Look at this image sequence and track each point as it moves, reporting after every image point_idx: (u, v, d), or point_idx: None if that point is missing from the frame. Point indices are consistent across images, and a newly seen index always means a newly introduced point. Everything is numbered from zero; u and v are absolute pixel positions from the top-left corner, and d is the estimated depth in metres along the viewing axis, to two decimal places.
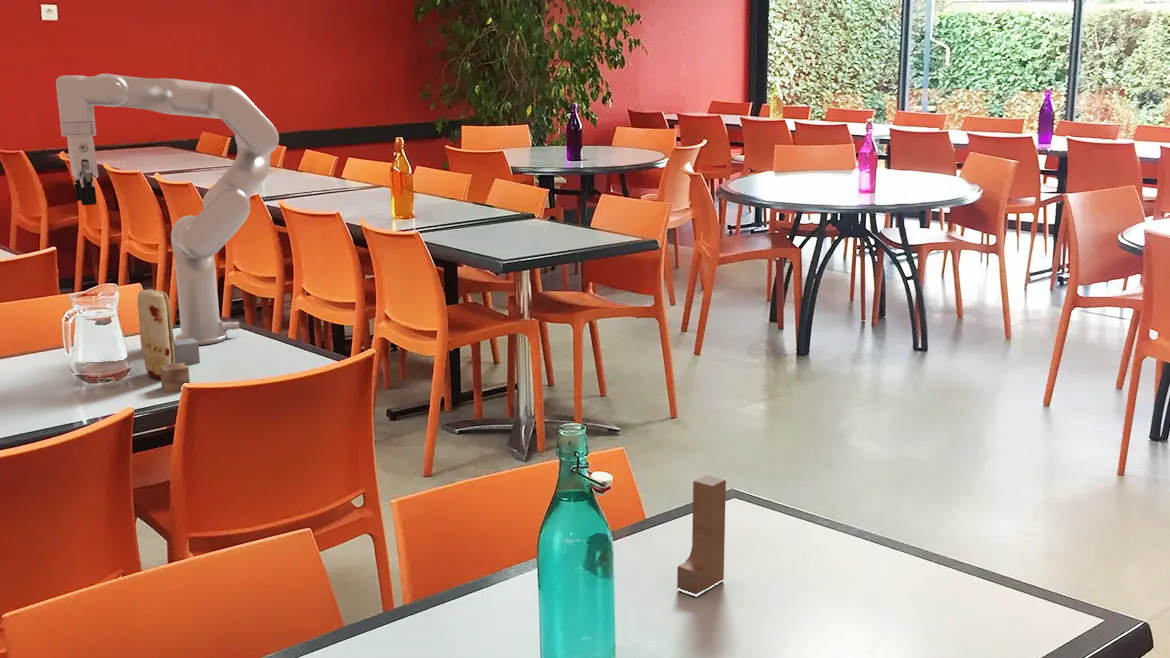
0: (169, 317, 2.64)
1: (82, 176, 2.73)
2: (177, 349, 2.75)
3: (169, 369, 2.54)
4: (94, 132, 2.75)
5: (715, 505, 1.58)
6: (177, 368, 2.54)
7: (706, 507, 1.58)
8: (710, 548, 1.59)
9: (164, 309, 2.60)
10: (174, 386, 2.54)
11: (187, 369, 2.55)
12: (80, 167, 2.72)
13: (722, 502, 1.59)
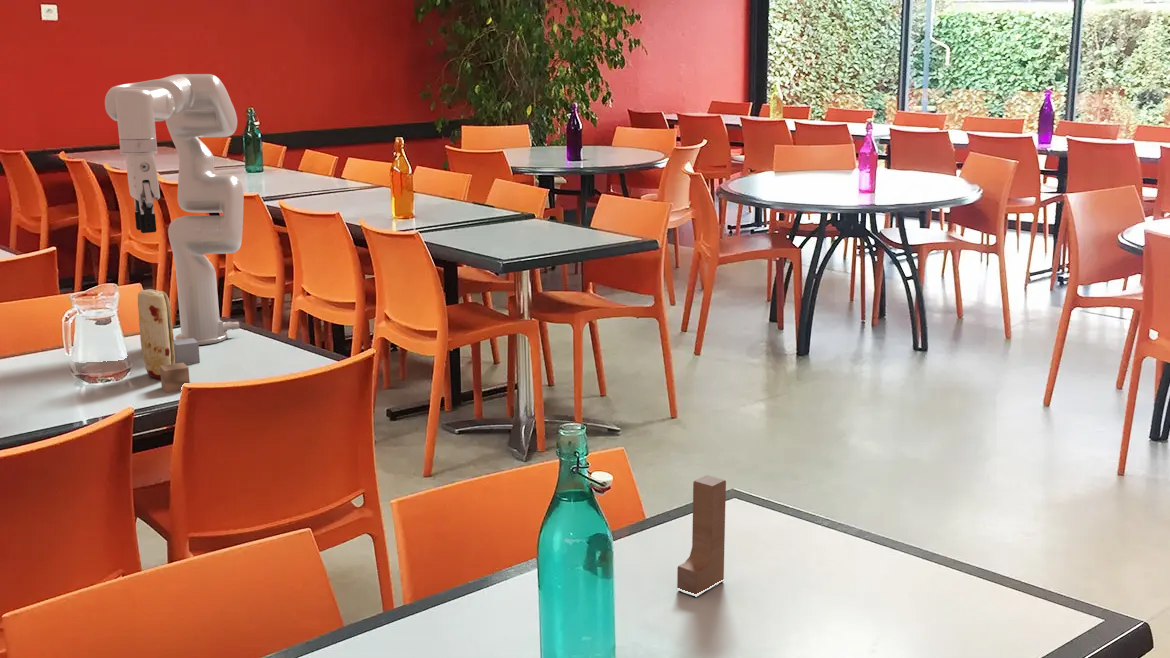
0: (169, 317, 2.64)
1: (142, 201, 2.54)
2: (177, 349, 2.75)
3: (169, 369, 2.54)
4: (155, 150, 2.55)
5: (715, 505, 1.58)
6: (177, 368, 2.54)
7: (706, 507, 1.58)
8: (710, 548, 1.59)
9: (164, 309, 2.60)
10: (174, 386, 2.54)
11: (187, 369, 2.55)
12: (141, 188, 2.52)
13: (722, 502, 1.59)
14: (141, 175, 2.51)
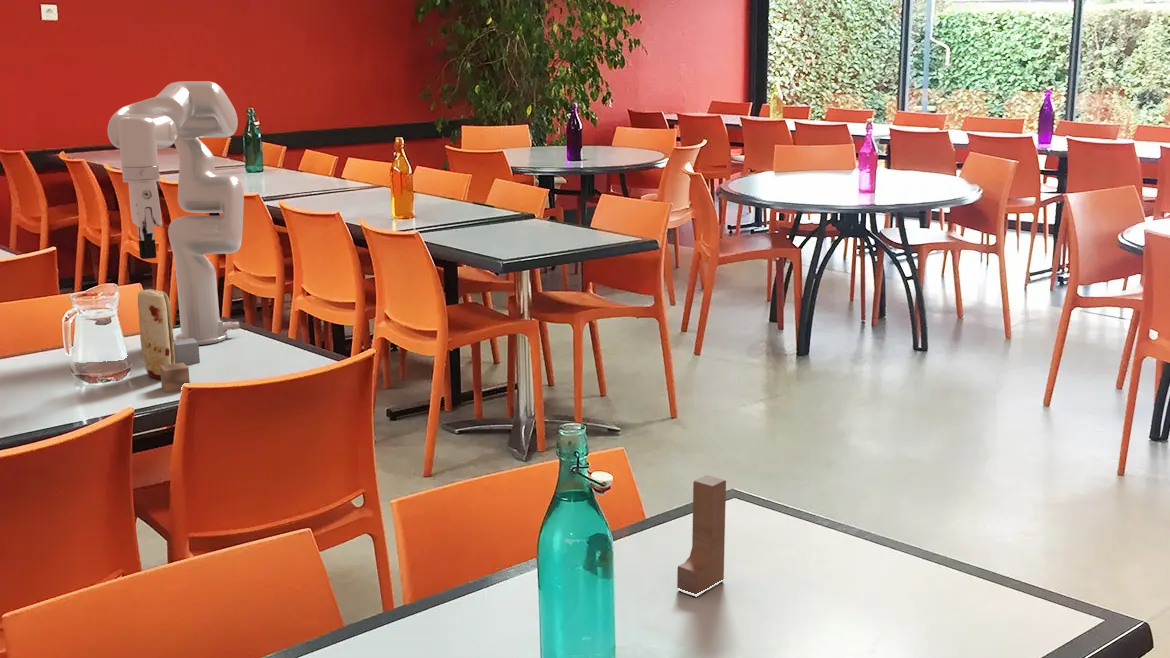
0: (169, 317, 2.64)
1: (143, 229, 2.56)
2: (177, 349, 2.75)
3: (169, 369, 2.54)
4: (158, 177, 2.56)
5: (715, 505, 1.58)
6: (177, 368, 2.54)
7: (706, 507, 1.58)
8: (710, 548, 1.59)
9: (164, 309, 2.60)
10: (174, 386, 2.54)
11: (187, 369, 2.55)
12: (143, 215, 2.53)
13: (723, 502, 1.59)
14: (143, 202, 2.52)
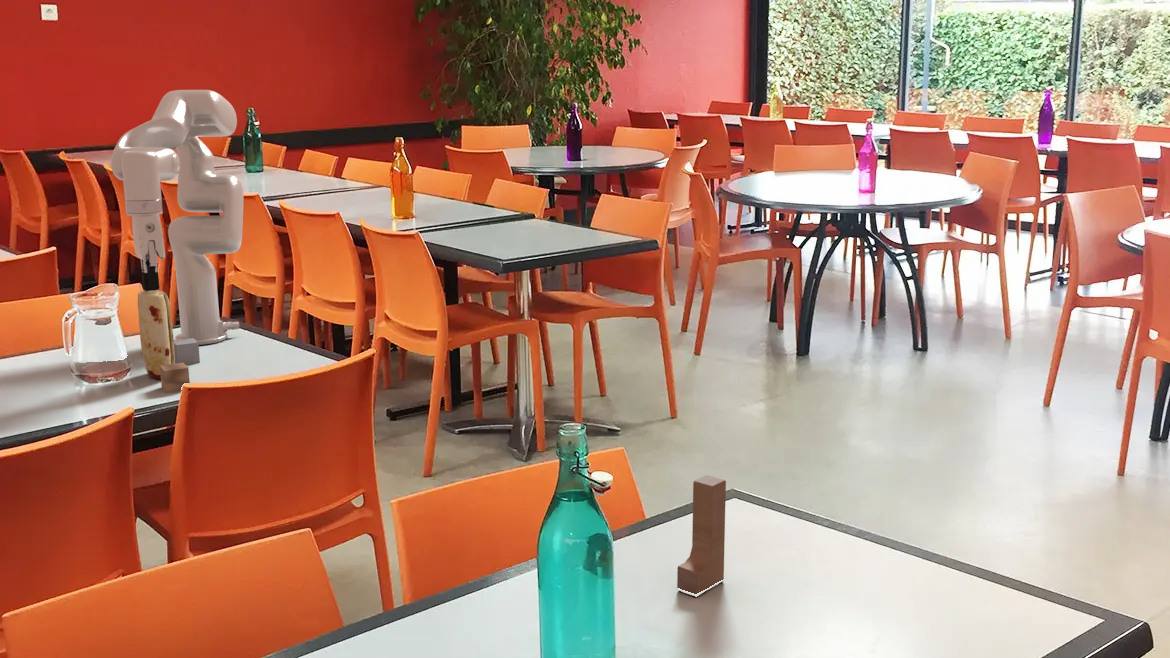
0: (169, 317, 2.64)
1: (146, 261, 2.58)
2: (177, 349, 2.75)
3: (169, 369, 2.54)
4: (161, 210, 2.58)
5: (715, 505, 1.58)
6: (177, 368, 2.54)
7: (706, 508, 1.58)
8: (710, 548, 1.59)
9: (164, 309, 2.60)
10: (174, 386, 2.54)
11: (187, 369, 2.55)
12: (146, 248, 2.55)
13: (722, 502, 1.59)
14: (146, 236, 2.54)
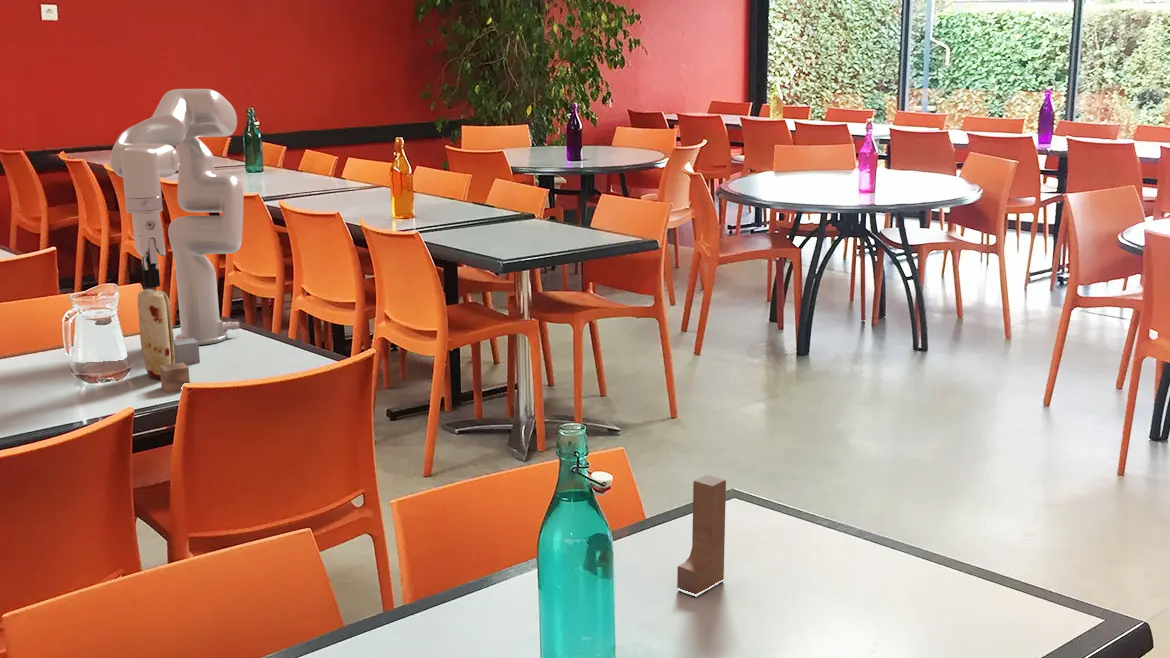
0: (169, 317, 2.64)
1: (147, 259, 2.58)
2: (177, 349, 2.75)
3: (169, 369, 2.54)
4: (161, 207, 2.58)
5: (715, 505, 1.58)
6: (177, 368, 2.54)
7: (706, 507, 1.58)
8: (710, 548, 1.59)
9: (164, 309, 2.60)
10: (174, 386, 2.54)
11: (187, 369, 2.55)
12: (147, 246, 2.55)
13: (723, 502, 1.59)
14: (147, 233, 2.54)
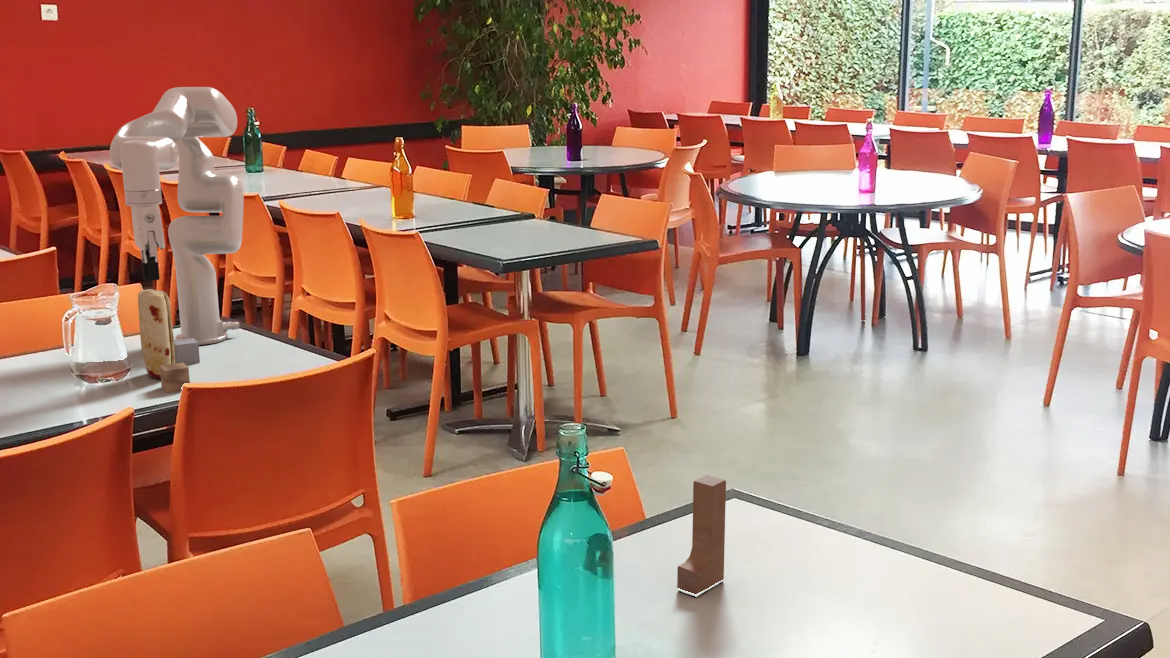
0: (169, 317, 2.64)
1: (146, 252, 2.58)
2: (177, 349, 2.75)
3: (169, 369, 2.54)
4: (160, 200, 2.57)
5: (715, 505, 1.58)
6: (177, 368, 2.54)
7: (706, 508, 1.58)
8: (710, 548, 1.59)
9: (164, 309, 2.61)
10: (174, 386, 2.54)
11: (187, 369, 2.55)
12: (146, 239, 2.55)
13: (723, 502, 1.59)
14: (146, 226, 2.54)
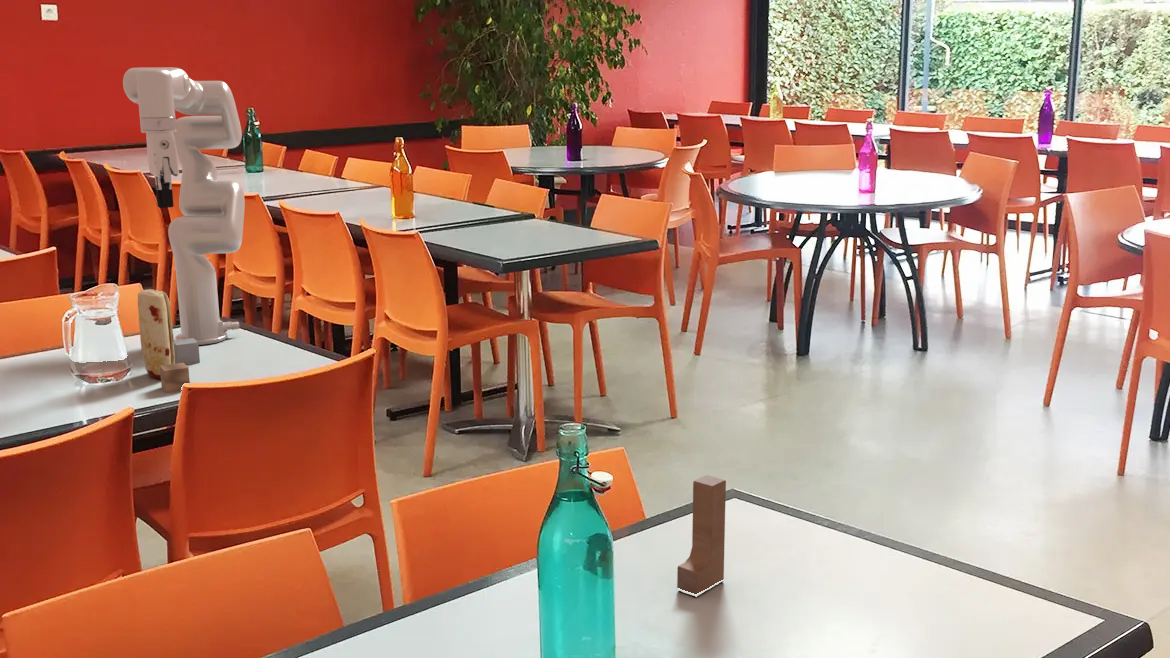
0: (169, 317, 2.64)
1: (161, 178, 2.64)
2: (177, 349, 2.75)
3: (169, 369, 2.54)
4: (175, 128, 2.63)
5: (715, 505, 1.58)
6: (177, 368, 2.54)
7: (706, 507, 1.58)
8: (710, 548, 1.59)
9: (164, 309, 2.60)
10: (174, 385, 2.54)
11: (187, 369, 2.55)
12: (161, 165, 2.60)
13: (722, 502, 1.59)
14: (161, 152, 2.60)
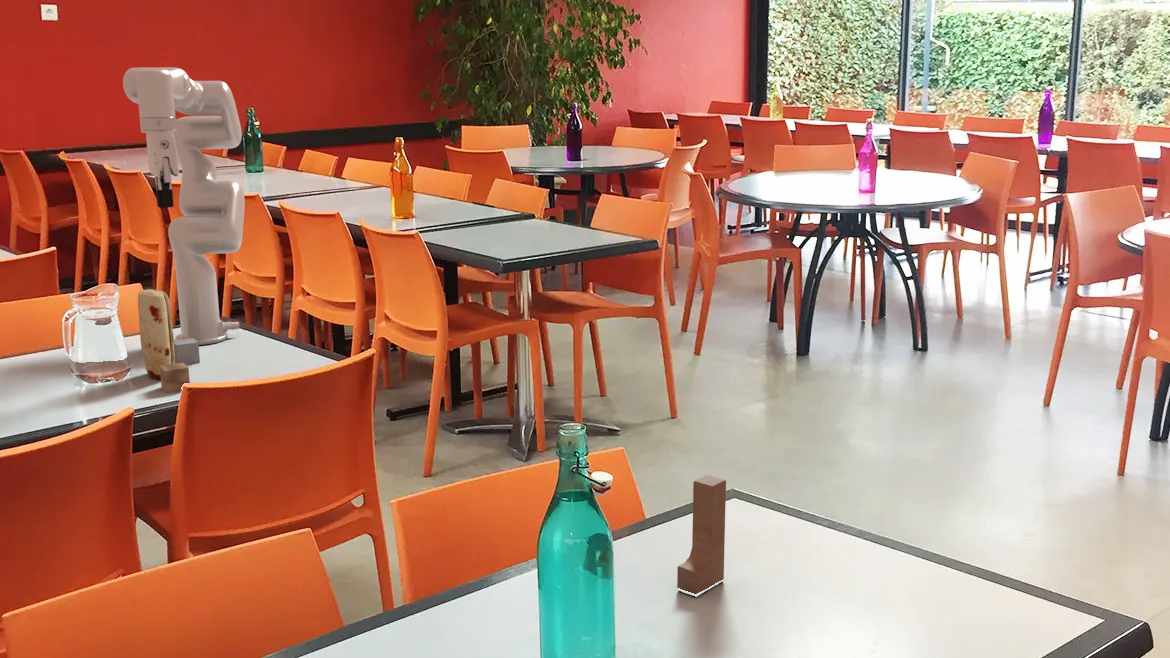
0: (169, 317, 2.64)
1: (161, 178, 2.64)
2: (177, 349, 2.75)
3: (169, 369, 2.54)
4: (175, 128, 2.63)
5: (715, 505, 1.58)
6: (177, 368, 2.54)
7: (706, 507, 1.58)
8: (710, 548, 1.59)
9: (164, 309, 2.60)
10: (174, 386, 2.54)
11: (187, 369, 2.55)
12: (161, 165, 2.60)
13: (723, 502, 1.59)
14: (161, 152, 2.60)
